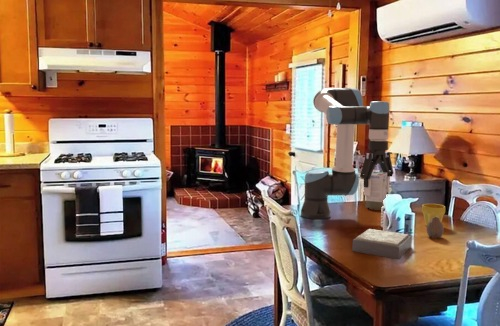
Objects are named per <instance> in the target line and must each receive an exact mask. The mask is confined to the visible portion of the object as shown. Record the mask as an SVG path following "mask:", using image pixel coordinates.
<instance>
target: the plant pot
mask: <svg viewBox="0 0 500 326" xmlns="http://www.w3.org/2000/svg"><path fill="white" fill-rule="evenodd" d="M421 206H422V207H421V213H423V218H424V223H425V226H426V227H427V225H428V223H429V222H430V221H431V220H432V218H433V217H438V218H439V220H440V221H441V223H442V221H443V218H444V215H445V214H446V206H445V205H443V204H439V203H438V204H437V203H424V204H421Z"/></svg>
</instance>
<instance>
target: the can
mask: <svg viewBox="0 0 500 326" xmlns="http://www.w3.org/2000/svg"><path fill="white" fill-rule="evenodd" d="M381 207H382V202H375V201H366V200H365V208H366V209H368V208H369V210H373V209H374V210H376V211H382V210H381Z"/></svg>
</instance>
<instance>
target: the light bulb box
mask: <svg viewBox="0 0 500 326" xmlns="http://www.w3.org/2000/svg"><path fill="white" fill-rule="evenodd" d="M367 176H368V175H367ZM370 179H371V194H370V196H367V195H365V202H366V201H375V202H383V200H384V199H385V198H386V195H387V193H388V192H387V172H383V171H373V172H372V174H371V176H370Z"/></svg>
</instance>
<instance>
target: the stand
mask: <svg viewBox="0 0 500 326" xmlns="http://www.w3.org/2000/svg"><path fill="white" fill-rule="evenodd" d="M411 247H412V235H409V234H407V233H403V232H402V233H401V232H395V231H386V230H381V229H375V228H373V229H372V228H368V229H366V230H365V231H364V232H362V233H360V234H359V235H357V236H356V237H355V238H353V239H352V252H355V253H360V254H361V253H362V254H366V255H372V256H378V257H384V258H390V259H396V260H399V259H401V257H403V256H404V255H405V254H406V253H407V252H408V251H409V250H410V249H411Z"/></svg>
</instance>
